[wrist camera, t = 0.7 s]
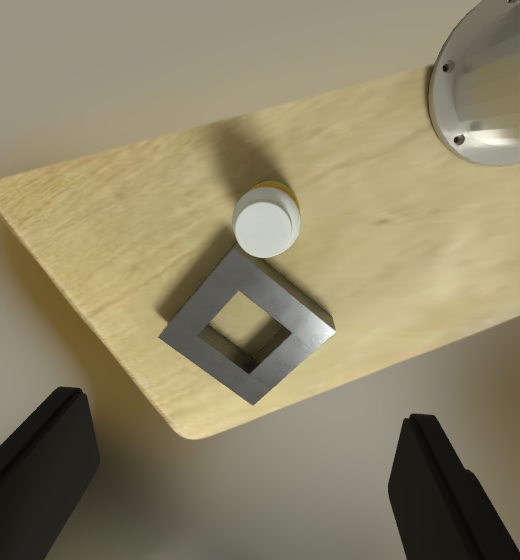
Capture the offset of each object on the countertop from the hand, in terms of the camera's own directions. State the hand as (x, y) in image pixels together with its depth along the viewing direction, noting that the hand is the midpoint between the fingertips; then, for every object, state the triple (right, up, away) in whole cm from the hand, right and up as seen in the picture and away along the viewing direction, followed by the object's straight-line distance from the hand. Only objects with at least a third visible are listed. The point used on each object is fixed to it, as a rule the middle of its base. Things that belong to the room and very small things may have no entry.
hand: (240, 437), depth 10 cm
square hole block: (-1, 0, +27) cm, 27 cm away
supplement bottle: (+2, +12, +22) cm, 25 cm away
